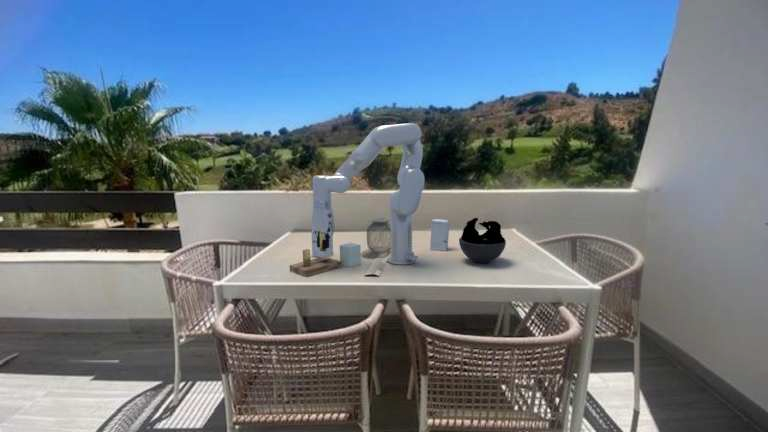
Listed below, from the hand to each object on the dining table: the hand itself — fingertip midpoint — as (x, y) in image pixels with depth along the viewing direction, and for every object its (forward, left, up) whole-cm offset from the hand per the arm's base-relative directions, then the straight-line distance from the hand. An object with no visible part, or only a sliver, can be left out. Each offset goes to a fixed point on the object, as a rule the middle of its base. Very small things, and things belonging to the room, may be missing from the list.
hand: (323, 247), depth 165 cm
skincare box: (-19, -58, -9) cm, 62 cm away
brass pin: (0, 0, -1) cm, 1 cm away
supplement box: (+15, -11, -9) cm, 20 cm away
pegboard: (0, +4, -9) cm, 10 cm away
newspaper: (-19, -14, -10) cm, 25 cm away
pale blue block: (-6, -10, -9) cm, 15 cm away
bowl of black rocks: (-46, -52, -9) cm, 70 cm away
